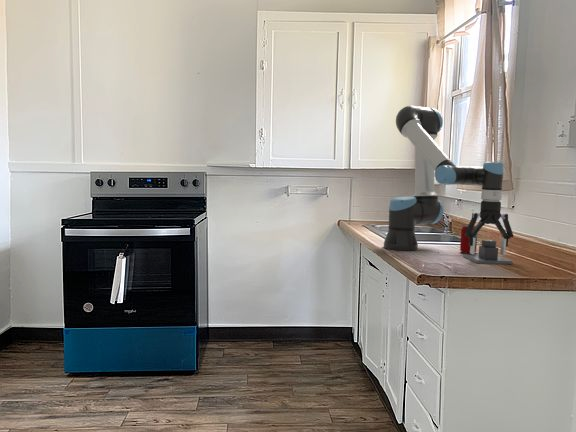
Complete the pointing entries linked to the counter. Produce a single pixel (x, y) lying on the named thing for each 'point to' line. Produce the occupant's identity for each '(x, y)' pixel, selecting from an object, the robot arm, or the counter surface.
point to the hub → (478, 259)
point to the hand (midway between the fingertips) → (487, 254)
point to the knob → (488, 249)
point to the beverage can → (466, 240)
